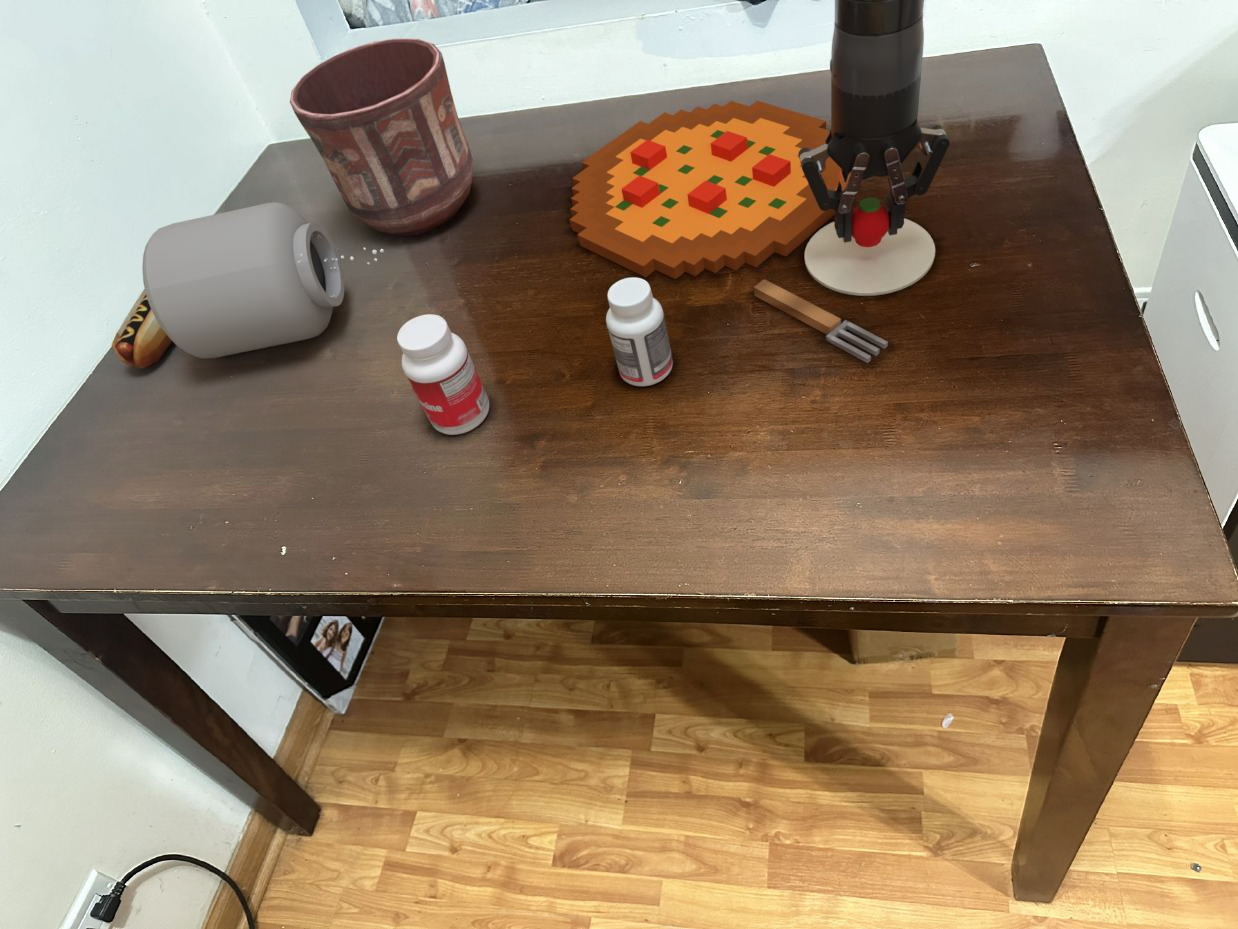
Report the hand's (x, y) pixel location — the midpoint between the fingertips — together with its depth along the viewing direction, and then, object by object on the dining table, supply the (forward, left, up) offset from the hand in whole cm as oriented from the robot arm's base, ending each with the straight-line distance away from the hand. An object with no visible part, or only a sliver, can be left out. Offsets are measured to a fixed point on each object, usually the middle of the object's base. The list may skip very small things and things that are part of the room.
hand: (868, 233), depth 88 cm
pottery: (+25, -51, -3) cm, 57 cm away
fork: (+11, +3, -3) cm, 12 cm away
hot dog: (+59, -56, -3) cm, 81 cm away
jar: (+45, -44, -3) cm, 63 cm away
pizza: (+1, -23, -3) cm, 23 cm away
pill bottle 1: (+42, -16, -3) cm, 45 cm away
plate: (0, 0, -3) cm, 3 cm away
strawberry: (0, 0, -1) cm, 1 cm away
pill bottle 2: (+26, -6, -3) cm, 27 cm away
